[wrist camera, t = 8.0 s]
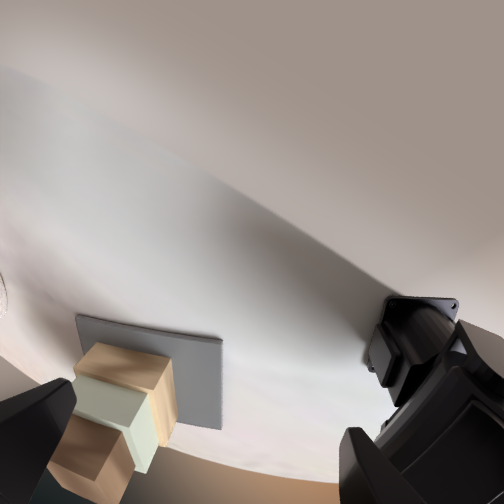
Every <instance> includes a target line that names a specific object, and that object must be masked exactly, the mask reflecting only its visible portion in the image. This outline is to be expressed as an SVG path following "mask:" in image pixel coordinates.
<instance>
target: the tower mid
mask: <svg viewBox="0 0 504 504" xmlns="http://www.w3.org/2000/svg"><path fill="white" fill-rule="evenodd" d="M72 386H73V388H74V391H75V394H76V396H77V403H76V406H75V408H74V410H73V413H72V414H75V415H77V416H80V417H82V418H85V419H88V420H90V421H93V422H96V423H98V424H101V425H104V426H107V427H110V428H113V429H116V430H119V431H122V432H123V435H124V438H125V440H126V443H127V446H128V448H129V451H130V453H131V456H132V458H133V461H134V463H135V465H136V467H135V469H134V470H136V471H139V472H142V473H145V474H146V472H147V470H148V468H149V465H150V463H151V461H152V458H153V456H154V453H155V451H156V449H157V447H158V444H159V440H158V436H157V432H156V428H155V424H154V420H153V415H152V411H151V406H150V402H149V397H148V394H147V393H143V392H139V391H135V390H131V389H127V388H123V387H120V386H116V385H113V384H109V383H106V382H102V381H99V380H96V379H93V378H90V377H87V376H83V375H80V374H79V375H78V376H77V378H76V379H75V380H74V381H73V382H72Z"/></svg>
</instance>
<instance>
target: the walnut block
mask: <svg viewBox="0 0 504 504" xmlns="http://www.w3.org/2000/svg"><path fill="white" fill-rule="evenodd" d="M135 467H136V465H135V463H134V461H133V458H132V456H131V453H130V451H129V448H128V446H127V443H126V440H125V438H124V435H123V432H122V431H119V430H116V429H113V428H110V427H107V426H104V425H101V424H98V423H96V422H93V421H90V420H88V419H85V418H82V417H80V416H77V415H75V414H72V415H71V417H70V420H69V422H68V425H67V427H66V430H65V432H64V434H63V436H62V438H61V440H60V442H59V444H58V446H57V448H56V450H55V451H54V453H53V455H52V457H51V459H50V461H49V463H48V465H47V468H48V469H49V470H50V472H51V473H52V475H53V476H54V477H55V478H56V480H57V481H58V482H59V484H60V485H61V486H62V487H64V488H65V489H68V490H70V491H71V492H74V493H76V494H78V495H80V496H82V497H84V498H86V499H88V500H91V501H93V502H95V503H98V504H119V502H120V500H121V497H122V495H123V493H124V491H125V489H126V487H127V484H128V482H129V480H130V478H131V476H132V473H133V471H134V469H135Z"/></svg>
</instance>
